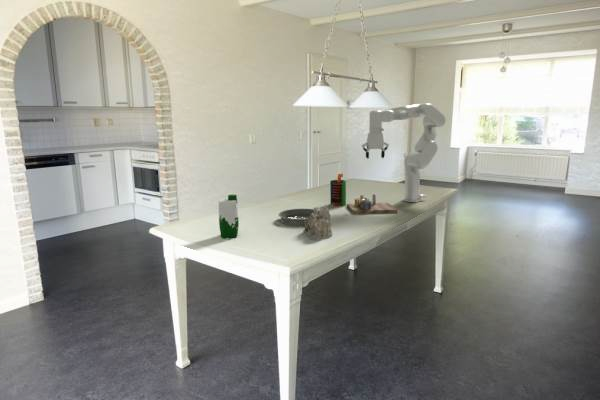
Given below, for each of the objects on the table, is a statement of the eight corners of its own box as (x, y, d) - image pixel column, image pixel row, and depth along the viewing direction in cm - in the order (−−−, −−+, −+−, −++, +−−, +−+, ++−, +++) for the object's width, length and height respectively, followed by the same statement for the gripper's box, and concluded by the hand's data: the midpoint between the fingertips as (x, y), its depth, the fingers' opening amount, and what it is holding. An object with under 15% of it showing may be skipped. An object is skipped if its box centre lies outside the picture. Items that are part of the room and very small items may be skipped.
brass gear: (367, 203, 258) (367, 197, 257) (370, 206, 249) (370, 200, 248) (353, 204, 257) (353, 198, 256) (356, 207, 249) (356, 200, 248)
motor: (328, 205, 265) (328, 174, 261) (333, 202, 273) (334, 172, 269) (343, 206, 260) (343, 175, 256) (348, 204, 268) (348, 173, 264)
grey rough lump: (312, 228, 210) (311, 200, 206) (338, 235, 200) (339, 205, 196) (292, 237, 198) (291, 207, 194) (319, 244, 188) (319, 213, 184)
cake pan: (269, 221, 227) (269, 213, 226) (303, 214, 243) (303, 206, 242) (298, 229, 209) (298, 221, 208) (332, 221, 224) (332, 213, 224)
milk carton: (238, 238, 194) (236, 196, 190) (219, 239, 194) (216, 197, 190) (239, 233, 203) (238, 193, 199) (221, 233, 202) (219, 194, 198)
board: (387, 205, 261) (387, 192, 259) (397, 212, 242) (397, 198, 240) (346, 207, 259) (347, 193, 257) (353, 214, 239) (354, 200, 238)
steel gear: (369, 207, 248) (369, 200, 247) (372, 209, 241) (372, 202, 241) (358, 207, 248) (358, 200, 247) (361, 210, 241) (361, 202, 240)
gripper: (387, 130, 261) (386, 157, 265) (360, 130, 259) (360, 158, 263) (390, 130, 254) (390, 158, 257) (363, 131, 252) (363, 159, 256)
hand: (375, 158), depth 260 cm, fingers open, 9 cm apart
